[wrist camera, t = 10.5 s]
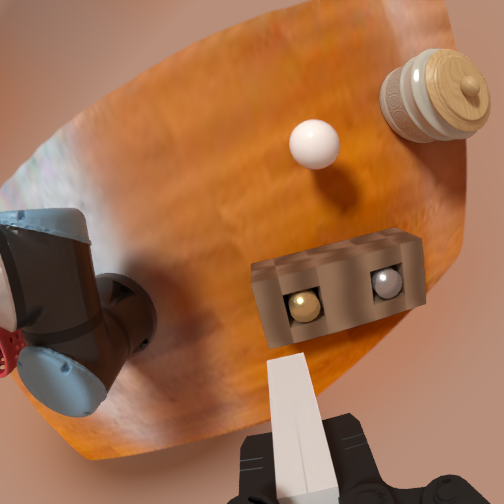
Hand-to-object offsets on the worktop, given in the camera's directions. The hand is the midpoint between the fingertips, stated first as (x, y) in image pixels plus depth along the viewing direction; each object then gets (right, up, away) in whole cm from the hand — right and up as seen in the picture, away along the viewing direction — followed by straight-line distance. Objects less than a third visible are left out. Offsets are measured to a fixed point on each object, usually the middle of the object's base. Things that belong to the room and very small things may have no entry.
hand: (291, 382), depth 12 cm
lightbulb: (+6, +21, +33) cm, 39 cm away
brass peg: (+5, 0, +36) cm, 37 cm away
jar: (+24, +29, +31) cm, 49 cm away
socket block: (+11, +2, +37) cm, 39 cm away
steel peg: (+17, +3, +35) cm, 39 cm away
